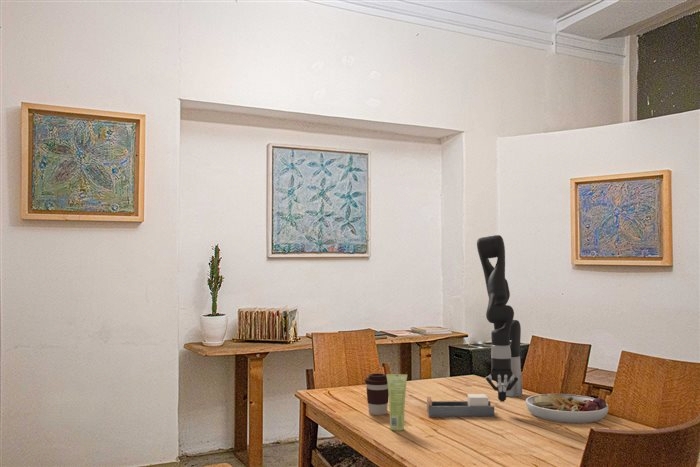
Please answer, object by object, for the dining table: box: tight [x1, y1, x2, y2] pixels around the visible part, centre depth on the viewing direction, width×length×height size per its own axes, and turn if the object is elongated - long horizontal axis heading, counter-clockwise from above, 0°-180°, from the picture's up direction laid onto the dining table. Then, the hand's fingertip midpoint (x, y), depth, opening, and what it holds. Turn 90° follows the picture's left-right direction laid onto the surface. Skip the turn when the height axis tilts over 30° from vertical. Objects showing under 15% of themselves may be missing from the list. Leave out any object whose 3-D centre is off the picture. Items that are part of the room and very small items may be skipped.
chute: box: [426, 396, 496, 418], centre depth 233 cm, size 25×9×6 cm, turn 87°
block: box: [467, 393, 489, 406], centre depth 233 cm, size 7×6×6 cm
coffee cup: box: [364, 372, 389, 416], centre depth 237 cm, size 10×10×15 cm
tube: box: [385, 373, 408, 432], centre depth 214 cm, size 6×5×20 cm
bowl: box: [525, 392, 609, 424], centre depth 231 cm, size 30×30×8 cm
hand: (502, 401), depth 233 cm, fingers closed
